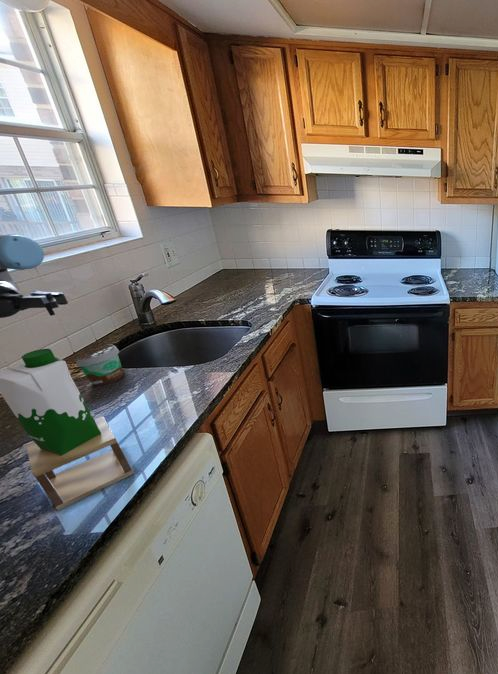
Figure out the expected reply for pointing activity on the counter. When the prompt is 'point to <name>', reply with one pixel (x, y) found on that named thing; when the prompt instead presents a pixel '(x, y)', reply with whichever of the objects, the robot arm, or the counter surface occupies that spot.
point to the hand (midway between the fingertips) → (1, 319)
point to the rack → (79, 468)
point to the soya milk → (48, 402)
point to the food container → (102, 366)
